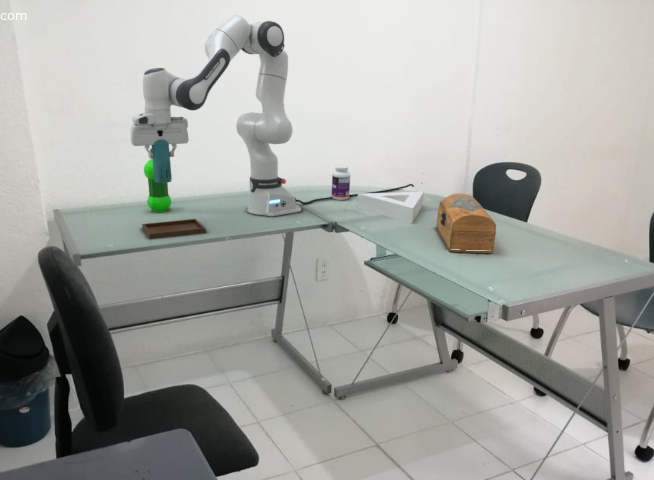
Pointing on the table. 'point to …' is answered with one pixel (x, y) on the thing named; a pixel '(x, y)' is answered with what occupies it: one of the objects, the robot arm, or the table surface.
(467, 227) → the wooden box
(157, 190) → the plastic bottle
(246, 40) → the robot arm
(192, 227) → the tray
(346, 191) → the pill bottle
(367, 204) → the triangle block
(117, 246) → the table surface
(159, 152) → the beverage bottle
